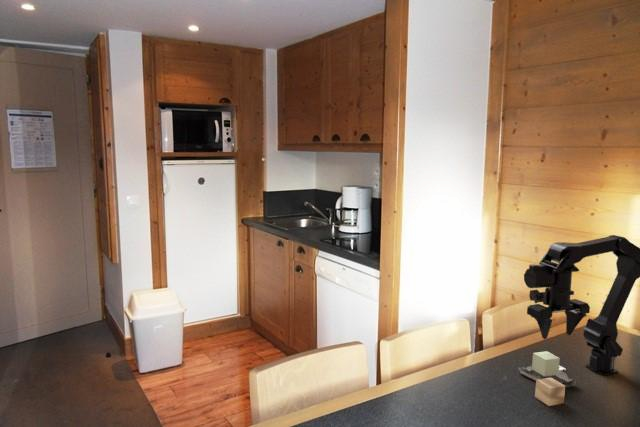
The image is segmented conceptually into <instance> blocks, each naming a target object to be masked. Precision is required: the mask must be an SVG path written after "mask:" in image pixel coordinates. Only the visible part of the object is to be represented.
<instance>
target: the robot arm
mask: <svg viewBox="0 0 640 427" xmlns="http://www.w3.org/2000/svg"><path fill="white" fill-rule="evenodd" d="M606 253H607V254H608V253H612V254H613V255H614V256H615V257H617V259H616V262H615V263H616V271H617V274H616V276H615V278H614V280H613V283H612V285H611V287H610V290H609V292H608V294H607V296H606V299H605V301H604V303H603V306H602V307H601V310H600V312H599V314H598V315H597V316H596V317H594V318H591V317H589V318H588V319H587V321H586V324H585V326H584V327H583V329H582V330H583V337H584V340H585V342H586V345H587V347H590V348H592V349H591V352H590V356H589V364H585V367H586V368H587V369H590V370H591V371H593V372H596V373H598V374H600V375H602V376H605V375H606V376H607V375H612V374H618V373H619V370H617V369H615V368H614V367H615V358H617V357H620V356H622V353H623V350H624V349H623V348H622V346H621V345H620V343H618V342H617V338H618V334H619V333H618V327H617V322H618V320H619V318H620V316H621V314H622V312H623V309H624V307H625V305H626V302H627V300H628V298H629V296H630V294H631V291H632V289H633V287H634V285H635V282H636V281H637V280H638V279H639V278H640V247H639V246H637V245H636V244H634V243H632V242H631V241H630V240H628V238H626V237H624V236H620V235H615V234H612V235H611V234H610V235H609V236H605V237H600V238H596V239H591V240H585V241H580V242H561V241H559V242H554V243H552V244H550V246H549V247H548V250H547V252H546V253H545V254H544V255H543V257H542V258H541V260H540V261H539V262H538V264H531V263H530V264H529V266H528V267H529V268H527V269H526V270H525V271H524V272H525V273H523V280H524V281H523V282H524V284H525V286H526V287H528V288H529V289H530V290H529V293H528V294H529V295H528V296H529V300H530V301H531V302H532V301H533V302H534V304H529V305H528V306H527V309H526V315H528V316H530V317H531V318H533V319H534V320H535V321H536V322H537V325H538V327H539V328H538V329H539V331H540V333H541V337H542V339H543V340H547V338H548V336H549V333H550V329H551V326H552V323H553V319H552V317H553V314H557V313H563V312H564V314H565V317H566V319H565V320H566V323H565V324H566V325H565V326H566V327H565V328H566V329H565V331H566V332H565V333H566V335H567V336H571V335H572V333H573V332H574V330H575V329H576V328H577V326H578V325H579V323H580V322H581V321H582V319H584V317H586V316H587V314H590V312H591V311H590V309H591V307H590V305H589V303H588V302H586V301H582V300H579V299H576V298H574V299H573V298H571V296H574V294H575V290H572V279H573V278H572V277H573V272H580V269H579V268H578V267H577V266H576V265H575V264H577V263H580V262H581V261H582V260H583V259H585V258H588V257H592V256H598V255H602V254H606ZM542 288H545V289H544V291H539V290H538V289H542ZM541 303H542V304H541Z"/></svg>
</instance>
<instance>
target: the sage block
mask: <svg viewBox="0 0 640 427" xmlns="http://www.w3.org/2000/svg"><path fill="white" fill-rule="evenodd" d="M560 361H561V359H560V357H559V356H556V355H554V354H553V353H551V352H549V351H547V350H546V351H538V352H533V353H532V362H531V363H532V364H531V366H532V369H533V370H532V371H534V372H536V373H538V374H539V375H541V376H542V377H550V376H555V375H558V372H559V365H560Z"/></svg>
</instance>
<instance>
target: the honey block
mask: <svg viewBox="0 0 640 427" xmlns="http://www.w3.org/2000/svg"><path fill="white" fill-rule="evenodd" d="M561 383H562V382H559V381H558V380H557V379H554V378H553V377H550V376H549V377H546V378H543V379H538V380H535V389H534V390H535V393H534V398H536V399H537V400H539V401H540V402H542V403H543V404H545V405H547V406H548V407H551V406H552V407H553V406H557V405H562V404H564V402H565V393H566V392H565V391H566V388H565V385H563V384H561Z"/></svg>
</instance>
